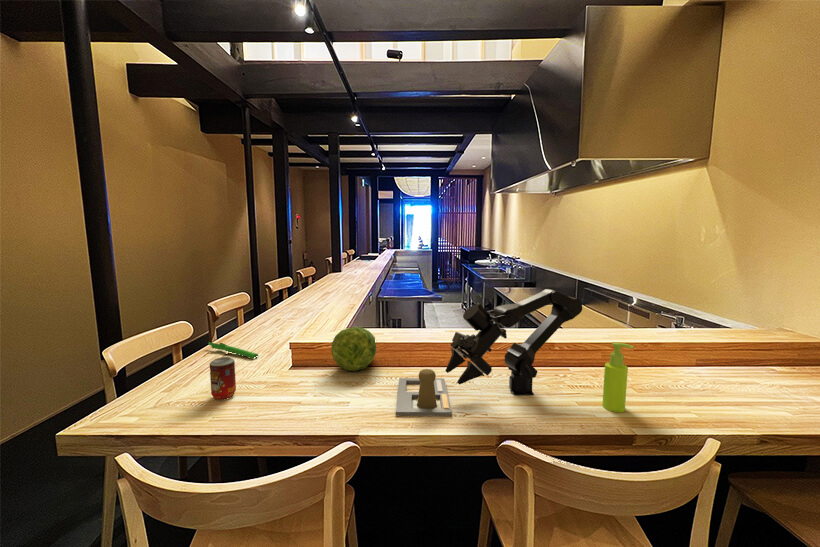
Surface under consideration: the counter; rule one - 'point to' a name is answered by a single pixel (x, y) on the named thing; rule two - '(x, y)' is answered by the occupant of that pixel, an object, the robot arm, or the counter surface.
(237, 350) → the green onion
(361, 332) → the lettuce
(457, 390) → the counter surface
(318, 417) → the counter surface
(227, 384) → the soda can
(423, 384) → the cork
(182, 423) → the counter surface
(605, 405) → the soap dispenser
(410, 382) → the panel
